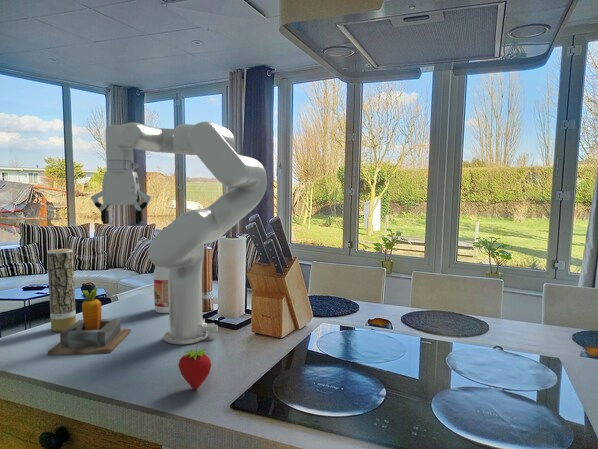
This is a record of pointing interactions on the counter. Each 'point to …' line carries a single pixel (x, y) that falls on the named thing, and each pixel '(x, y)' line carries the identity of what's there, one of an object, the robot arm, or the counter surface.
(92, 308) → the carrot
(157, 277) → the fruit juice
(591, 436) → the counter surface
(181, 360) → the strawberry
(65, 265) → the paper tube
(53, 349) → the docking stand
